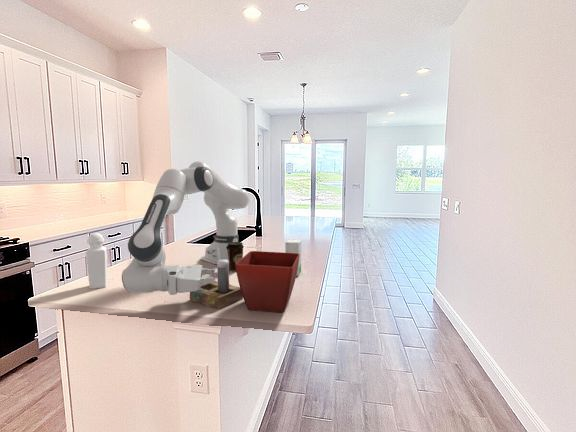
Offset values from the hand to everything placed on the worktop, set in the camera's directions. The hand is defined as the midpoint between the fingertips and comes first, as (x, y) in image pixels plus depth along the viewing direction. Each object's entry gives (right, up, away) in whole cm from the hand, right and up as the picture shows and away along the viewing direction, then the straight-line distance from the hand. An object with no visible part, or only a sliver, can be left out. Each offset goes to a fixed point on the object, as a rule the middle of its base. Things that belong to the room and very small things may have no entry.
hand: (214, 275), depth 114 cm
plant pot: (+19, -11, 0) cm, 22 cm away
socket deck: (0, -10, +5) cm, 11 cm away
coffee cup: (0, -5, +43) cm, 44 cm away
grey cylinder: (+3, -9, +3) cm, 9 cm away
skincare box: (+28, -6, +37) cm, 47 cm away
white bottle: (-51, -8, +18) cm, 55 cm away
